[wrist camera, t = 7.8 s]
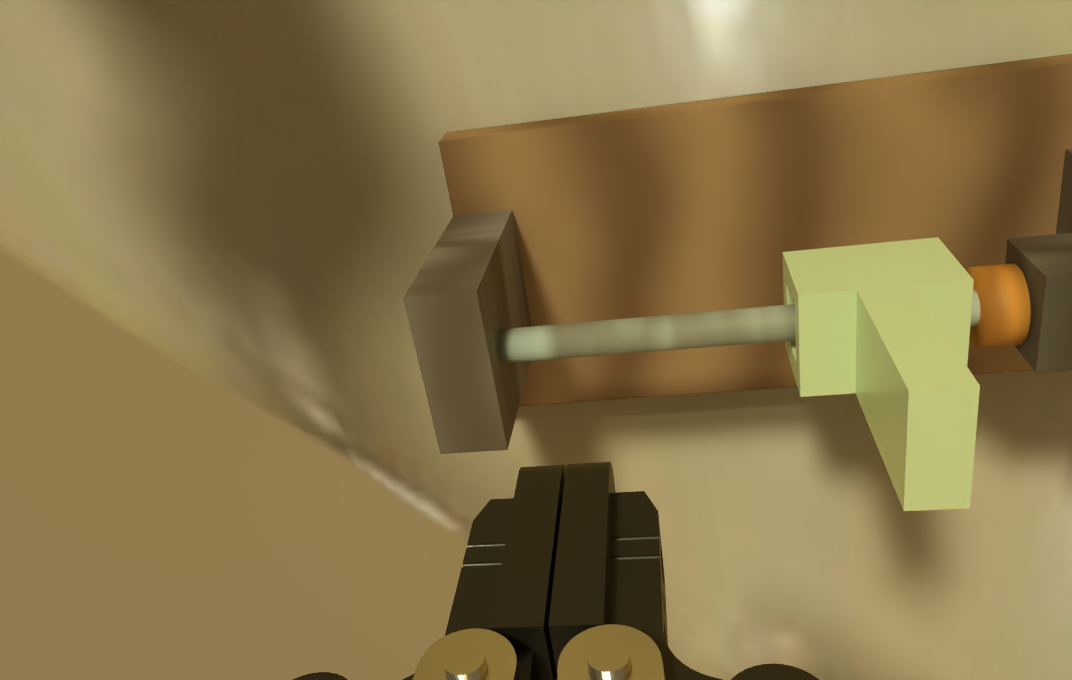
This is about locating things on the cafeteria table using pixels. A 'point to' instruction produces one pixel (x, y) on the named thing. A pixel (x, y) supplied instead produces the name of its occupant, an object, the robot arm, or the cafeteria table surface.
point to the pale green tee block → (893, 356)
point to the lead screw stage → (733, 236)
